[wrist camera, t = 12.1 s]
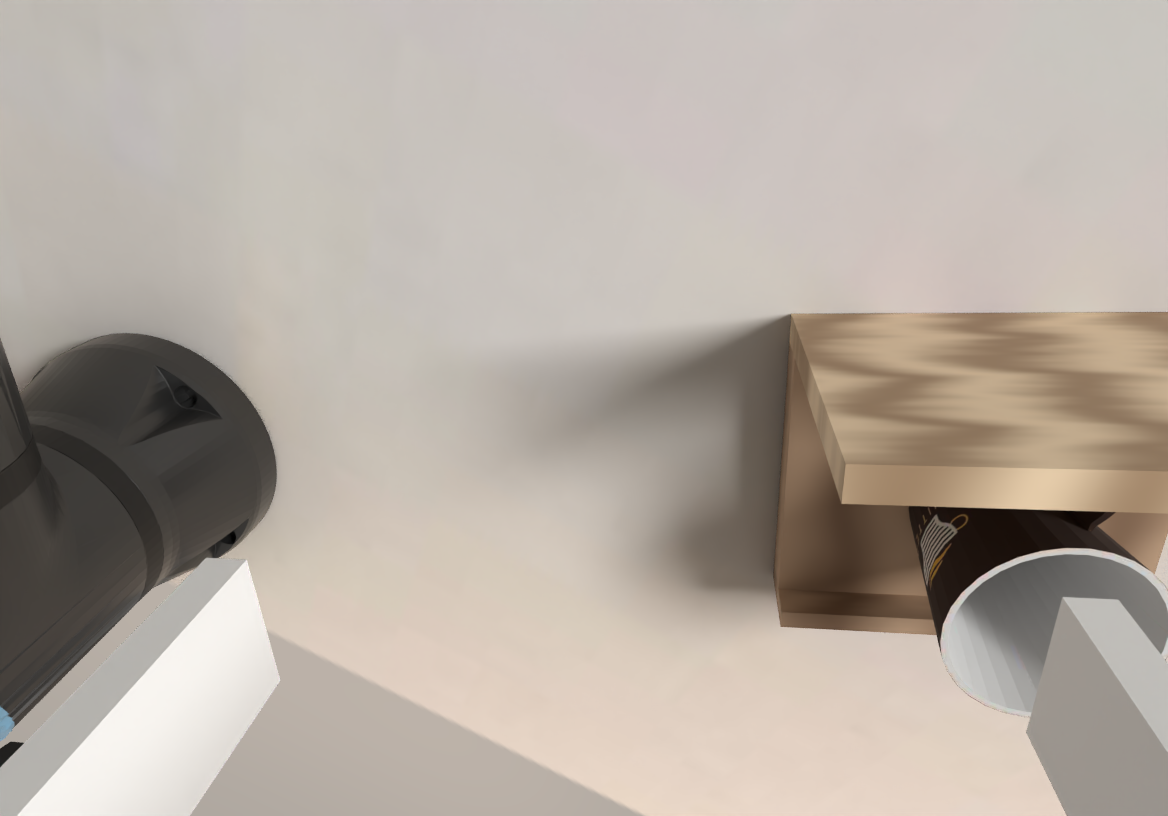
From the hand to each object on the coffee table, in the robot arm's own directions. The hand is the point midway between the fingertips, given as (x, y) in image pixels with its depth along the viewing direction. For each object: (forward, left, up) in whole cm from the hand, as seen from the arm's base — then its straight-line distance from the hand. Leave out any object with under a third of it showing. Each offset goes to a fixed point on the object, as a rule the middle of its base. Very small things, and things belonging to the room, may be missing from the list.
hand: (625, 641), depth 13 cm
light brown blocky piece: (+16, -12, -29) cm, 35 cm away
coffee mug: (+17, -12, -26) cm, 33 cm away
